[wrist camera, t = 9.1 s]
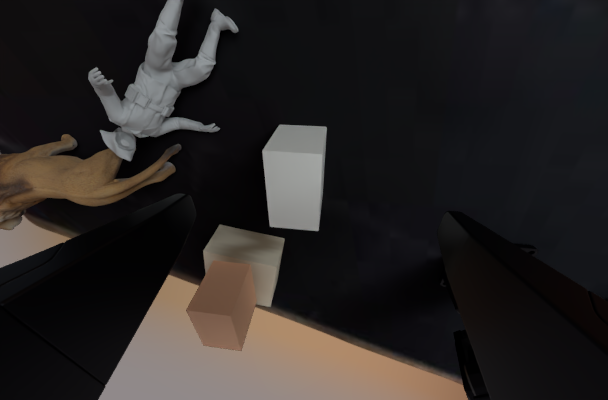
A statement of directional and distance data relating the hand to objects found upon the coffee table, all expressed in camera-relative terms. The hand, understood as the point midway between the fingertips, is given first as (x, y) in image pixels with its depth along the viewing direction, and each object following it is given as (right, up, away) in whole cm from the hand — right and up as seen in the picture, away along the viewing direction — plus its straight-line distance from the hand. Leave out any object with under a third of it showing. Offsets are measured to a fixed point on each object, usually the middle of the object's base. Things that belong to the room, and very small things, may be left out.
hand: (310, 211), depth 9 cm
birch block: (-6, -6, +19) cm, 21 cm away
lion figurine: (-18, +4, +14) cm, 23 cm away
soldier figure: (-9, +9, +9) cm, 16 cm away
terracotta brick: (-7, -8, +16) cm, 19 cm away
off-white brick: (0, +4, +11) cm, 12 cm away
